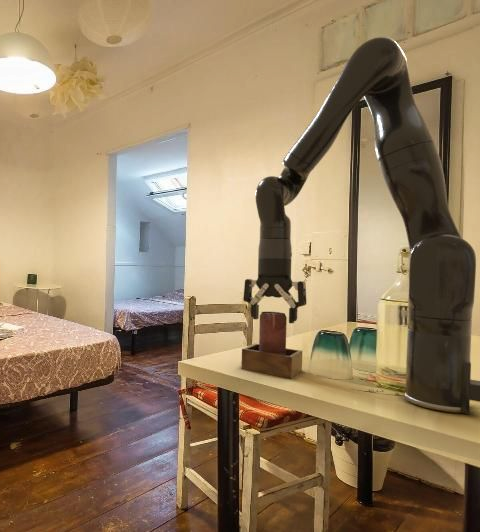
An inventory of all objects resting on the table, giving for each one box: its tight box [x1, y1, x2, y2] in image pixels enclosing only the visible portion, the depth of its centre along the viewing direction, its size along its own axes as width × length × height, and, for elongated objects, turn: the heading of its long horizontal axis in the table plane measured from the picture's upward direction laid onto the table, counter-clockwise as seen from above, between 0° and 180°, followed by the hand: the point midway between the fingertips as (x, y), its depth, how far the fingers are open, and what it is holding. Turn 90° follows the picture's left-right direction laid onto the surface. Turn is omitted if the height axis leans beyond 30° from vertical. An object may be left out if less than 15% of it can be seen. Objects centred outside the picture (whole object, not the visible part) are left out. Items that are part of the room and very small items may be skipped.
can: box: [258, 311, 288, 356], centre depth 100 cm, size 6×6×14 cm
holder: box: [240, 343, 303, 380], centre depth 100 cm, size 12×10×5 cm
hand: (273, 321), depth 100 cm, fingers open, 8 cm apart
